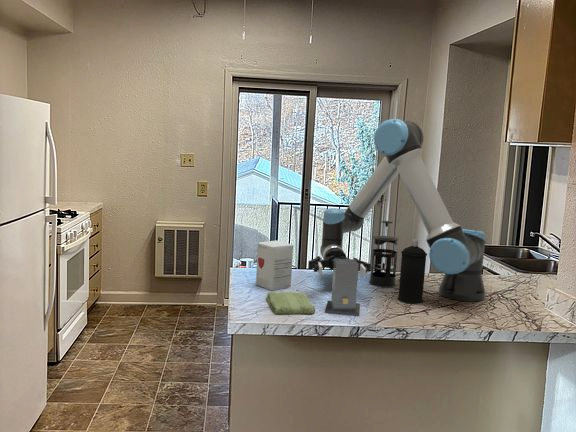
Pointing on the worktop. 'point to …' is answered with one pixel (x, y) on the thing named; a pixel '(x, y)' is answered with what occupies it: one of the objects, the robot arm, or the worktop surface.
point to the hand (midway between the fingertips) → (342, 272)
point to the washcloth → (290, 303)
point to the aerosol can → (412, 274)
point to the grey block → (344, 284)
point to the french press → (383, 277)
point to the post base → (344, 312)
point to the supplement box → (274, 265)
